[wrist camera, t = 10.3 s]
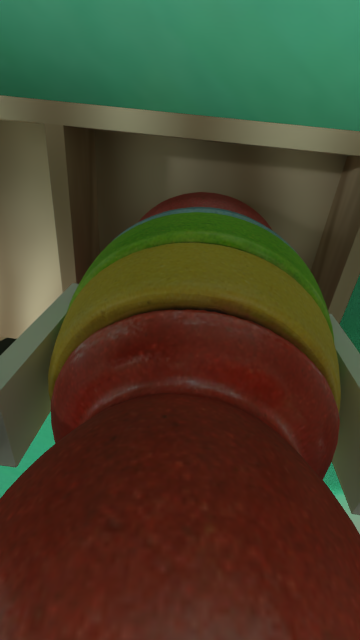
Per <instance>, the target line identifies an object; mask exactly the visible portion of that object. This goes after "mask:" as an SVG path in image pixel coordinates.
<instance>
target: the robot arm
mask: <svg viewBox="0 0 360 640" xmlns="http://www.w3.org/2000/svg"><path fill="white" fill-rule="evenodd" d="M78 285H79V284H76V283H72V284H71V285H70V286H69V287H68V288H67V289H66V290H65V291H64V292H63V293H62V294H61V295H60V296H59V297H58V298H57V299H56V300H55V301H54V302H53V303H52V304H51V305H50V306H49V307H48V308H47V309H46V310H45V311H44V312H43V313H42V314H41V315H40V316H39V317H38V318H37V319H36V320H35V321H34V322H33V323H32V324H31V325H30V326H29V327H28V328H27V329H26V330H25V331H24V332H23V333H22V334H21V335H20V336H19V337H18V338H17V339H14V338H5V339H3V340H1V341H0V465H2V466H10V467H17V466H18V464H19V462H20V461H21V459H22V457H23V456H24V454H25V452H26V451H27V449H28V447H29V446H30V444H31V442H32V441H33V439H34V438H35V436H36V434H37V433H38V431H39V429H40V428H41V426H42V424H43V423H44V421H45V419H46V418H47V416H48V414H49V413H50V411H51V402H50V397H49V392H48V371H49V365H50V360H51V356H52V352H53V349H54V345H55V342H56V339H57V336H58V334H59V331H60V328H61V325H62V323H63V321H64V318H65V316H66V314H67V310H68V307H69V304H70V301H71V299H72V297H73V295H74V293H75V291H76V289H77V287H78ZM329 315H330V320H331V324H332V328H333V335H334V345H335V349H336V353H337V358H338V364H339V374H340V387H341V399H340V410H339V418H340V425H339V436H338V443H337V447H336V450H335V453H334V456H333V459H332V463H333V466H334V469H335V471H336V474H337V476H338V479H339V482H340V484H341V487H342V490H343V492H344V495H345V497H346V500H347V503H348V505H349V508H350V510H351V513H352V514H357V515H360V353H359V352H358V350H357V349H356V347H355V346H354V345H353V343H352V342H351V340H350V339H349V338H348V336H347V335H346V333H345V332H344V331H343V329H342V328H341V326H340V325H339V324H338V322H337V321H336V319H335V318H334V317H333V315H332V314H329Z"/></svg>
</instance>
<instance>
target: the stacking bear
mask: <svg viewBox="0 0 360 640" xmlns="http://www.w3.org/2000/svg"><path fill="white" fill-rule="evenodd" d="M48 392H49V397H50V402H51V423H52V429H53V435H54V440H55V443H56V444H55V445H53V446H52V447H51V448H50V449H49V450H47V451H46V452H45V453H44V454H43V455H42V456H40V457H39V458H38V459H37V460H36V461H35V462H34V463H33V464H32V465H31V466H30V467H29V468H28V469H27V470H26V471H25V472H24V473H23V474H22V475H21V476H20V477H19V478H18V479H17V480H16V481H15V482H14V483H13V484H12V486H11V487H10V488H9V489H8V490H7V491H6V492H5V494H4V495H3V496H2V497H1V499H0V640H360V534H359V533H358V531H357V529H356V527H355V526H354V524H353V522H352V521H351V520H350V518H349V516H348V515H347V513H346V512H345V510H344V509H343V507H342V506H341V505H340V503H339V502H338V500H337V499H336V498H335V496H334V495H333V493H332V492H331V490H330V489H329V488H328V486H327V485H326V484H325V483H324V481H323V478H324V476H325V474H326V472H327V470H328V468H329V466H330V464H331V462H332V459H333V456H334V453H335V450H336V447H337V443H338V436H339V425H340V418H339V410H340V399H341V387H340V374H339V364H338V358H337V353H336V349H335V345H334V335H333V328H332V324H331V320H330V315H329V312H328V309H327V306H326V303H325V301H324V298H323V295H322V293H321V290H320V288H319V286H318V284H317V282H316V280H315V278H314V276H313V274H312V273H311V271H310V270H309V268H308V267H307V265H306V264H305V263H304V261H303V260H302V259H301V258H300V256H299V255H298V254H297V253H296V251H295V250H294V249H293V248H292V247H291V246H290V245H289V244H288V243H287V242H286V241H285V240H284V239H283V238H281V237H280V236H279V235H278V234H277V233H275V232H274V231H273V230H272V229H271V227H270V226H269V224H268V223H267V222H266V220H265V219H264V218H263V217H262V216H261V215H260V214H259V213H258V212H256V211H255V210H254V209H253V208H251V207H250V206H248V205H247V204H245V203H243V202H241V201H239V200H238V199H235V198H232V197H230V196H226V195H222V194H217V193H209V192H195V193H187V194H182V195H179V196H175V197H173V198H170V199H167V200H165V201H163V202H161V203H159V204H158V205H156V206H155V207H153V208H152V209H151V210H149V211H148V212H147V213H146V214H145V215H144V216H143V217H142V218H141V219H140V220H139V221H138V222H137V223H136V224H135V225H133V226H131V227H130V228H128V229H126V230H125V231H124V232H122V233H121V234H120V235H118V236H117V237H116V238H115V239H114V240H113V241H112V242H111V243H110V244H109V245H108V246H107V247H106V248H105V249H104V250H103V251H102V252H101V253H100V254H99V255H98V256H97V257H96V259H95V260H94V261H93V263H92V264H91V265H90V267H89V268H88V270H87V271H86V273H85V274H84V276H83V278H82V280H81V281H80V283H79V285H78V287H77V289H76V291H75V293H74V295H73V297H72V299H71V301H70V304H69V307H68V310H67V314H66V316H65V318H64V321H63V323H62V325H61V328H60V331H59V334H58V336H57V339H56V342H55V345H54V349H53V352H52V356H51V360H50V365H49V371H48Z"/></svg>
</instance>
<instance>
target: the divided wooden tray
mask: <svg viewBox="0 0 360 640" xmlns="http://www.w3.org/2000/svg"><path fill="white" fill-rule="evenodd" d="M195 192H209V193H217V194H222V195H226V196H230V197H232V198H235V199H238V200H239V201H241V202H243V203H245V204H247V205H248V206H250V207H251V208H253V209H254V210H255V211H256V212H258V213H259V214H260V215H261V216H262V217H263V218H264V219H265V220H266V222H267V223H268V224H269V226H270V227H271V229H272V230H273V231H274V232H275V233H277V234H278V235H279V236H280V237H281V238H283V239H284V240H285V241H286V242H287V243H288V244H289V245H290V246H291V247H292V248H293V249H294V250H295V251H296V253H297V254H298V255H299V256H300V258H301V259H302V260H303V261H304V263H305V264H306V265H307V267H308V268H309V270H310V271H311V273H312V274H313V276H314V278H315V280H316V282H317V284H318V286H319V288H320V290H321V293H322V295H323V298H324V301H325V303H326V306H327V309H328V312H329V314H332V315H333V317H334V318H335V319H336V321H337V322H338V324H340V322H341V319H342V317H343V314H344V312H345V309H346V307H347V304H348V302H349V299H350V297H351V294H352V292H353V289H354V287H355V284H356V282H357V279H358V277H359V275H360V131H350V130H340V129H330V128H320V127H310V126H300V125H290V124H280V123H270V122H260V121H250V120H240V119H230V118H220V117H210V116H200V115H190V114H180V113H170V112H160V111H151V110H141V109H131V108H121V107H111V106H101V105H91V104H81V103H71V102H61V101H51V100H41V99H31V98H21V97H11V96H1V95H0V341H1V340H3V339H5V338H14V339H17V338H18V337H19V336H20V335H21V334H22V333H23V332H24V331H25V330H26V329H27V328H28V327H29V326H30V325H31V324H32V323H33V322H34V321H35V320H36V319H37V318H38V317H39V316H40V315H41V314H42V313H43V312H44V311H45V310H46V309H47V308H48V307H49V306H50V305H51V304H52V303H53V302H54V301H55V300H56V299H57V298H58V297H59V296H60V295H61V294H62V293H63V292H64V291H65V290H66V289H67V288H68V287H69V286H70V285H71V284H72V283H76V284H79V283H80V281H81V280H82V278H83V276H84V274H85V273H86V271H87V270H88V268H89V267H90V265H91V264H92V263H93V261H94V260H95V259H96V257H97V256H98V255H99V254H100V253H101V252H102V251H103V250H104V249H105V248H106V247H107V246H108V245H109V244H110V243H111V242H112V241H113V240H114V239H115V238H116V237H117V236H118V235H120V234H121V233H122V232H124V231H125V230H126V229H128V228H130V227H131V226H133V225H135V224H136V223H137V222H138V221H139V220H140V219H141V218H142V217H143V216H144V215H145V214H146V213H147V212H148V211H149V210H151V209H152V208H153V207H155V206H156V205H158V204H159V203H161V202H163V201H165V200H167V199H170V198H173V197H175V196H179V195H182V194H187V193H195Z"/></svg>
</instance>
